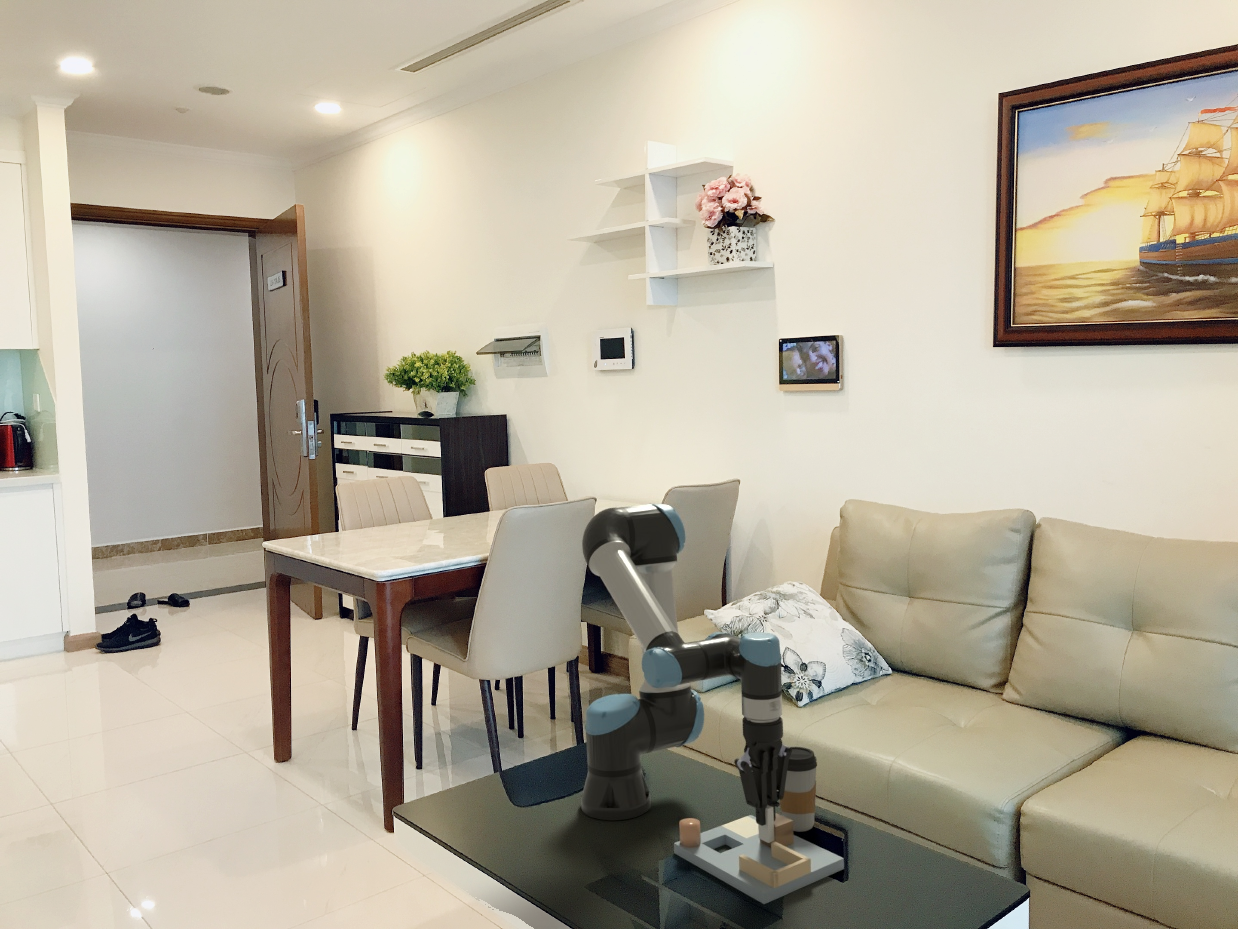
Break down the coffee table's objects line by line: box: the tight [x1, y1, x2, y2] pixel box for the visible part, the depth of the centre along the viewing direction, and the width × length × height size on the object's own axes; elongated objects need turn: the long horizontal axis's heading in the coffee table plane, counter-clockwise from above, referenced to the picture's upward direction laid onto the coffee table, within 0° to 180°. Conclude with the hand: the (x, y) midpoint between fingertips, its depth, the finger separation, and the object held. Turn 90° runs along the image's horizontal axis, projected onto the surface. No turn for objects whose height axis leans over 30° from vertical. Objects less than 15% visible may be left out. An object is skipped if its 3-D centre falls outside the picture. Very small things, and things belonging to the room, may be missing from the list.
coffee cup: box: [779, 746, 818, 832], centre depth 196 cm, size 8×8×15 cm
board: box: [673, 814, 845, 905], centre depth 182 cm, size 25×20×4 cm
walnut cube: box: [760, 812, 794, 848], centre depth 184 cm, size 4×4×4 cm
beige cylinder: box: [678, 817, 702, 848], centre depth 186 cm, size 4×4×4 cm
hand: (766, 839), depth 182 cm, fingers closed
